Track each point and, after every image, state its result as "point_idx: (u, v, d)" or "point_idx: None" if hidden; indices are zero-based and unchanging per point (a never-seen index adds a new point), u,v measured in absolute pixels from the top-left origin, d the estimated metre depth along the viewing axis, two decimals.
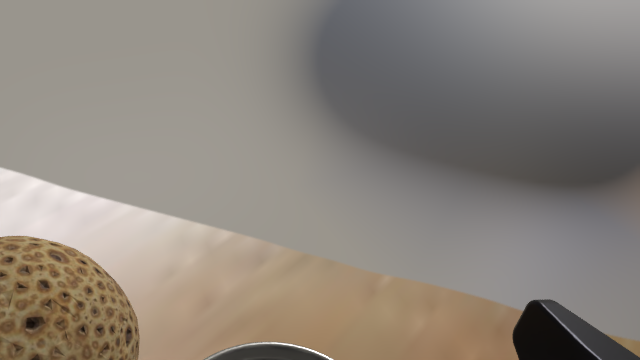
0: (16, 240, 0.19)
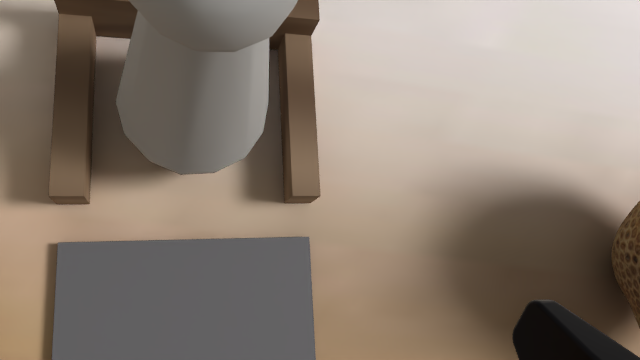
0: None
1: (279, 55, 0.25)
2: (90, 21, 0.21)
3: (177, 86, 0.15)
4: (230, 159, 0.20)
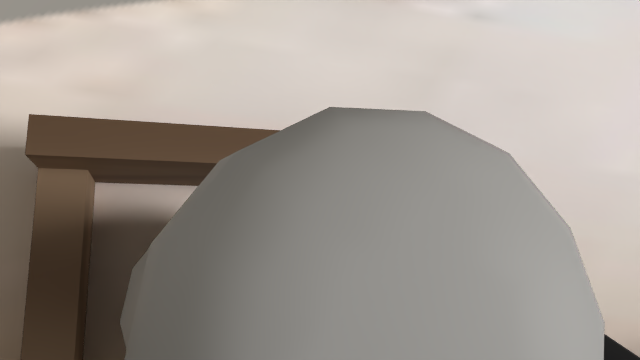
0: None
1: None
2: (85, 177, 0.14)
3: None
4: None
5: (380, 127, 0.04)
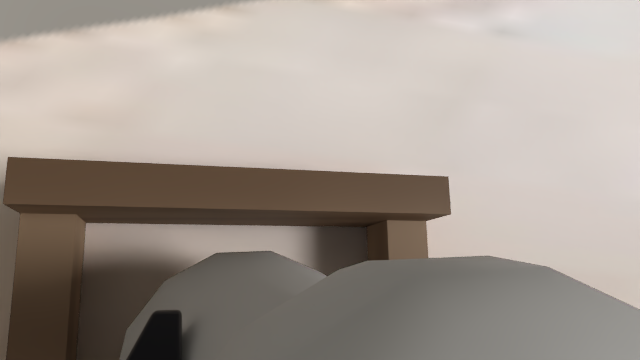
0: None
1: (370, 240, 0.16)
2: (74, 223, 0.13)
3: None
4: None
5: (498, 316, 0.03)
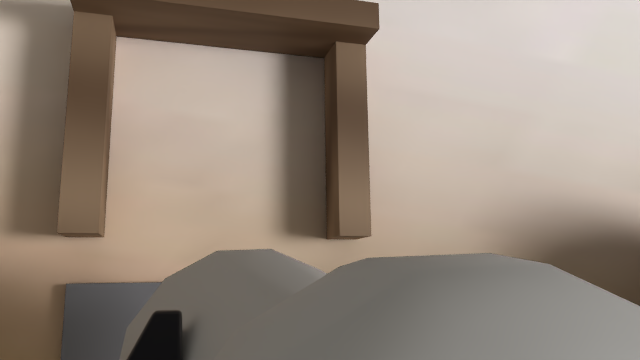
0: None
1: (326, 65, 0.21)
2: (110, 21, 0.18)
3: None
4: None
5: (499, 313, 0.03)
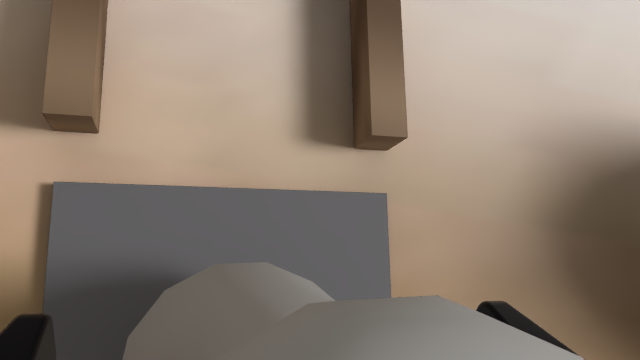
0: None
1: None
2: None
3: None
4: None
5: (427, 359, 0.03)
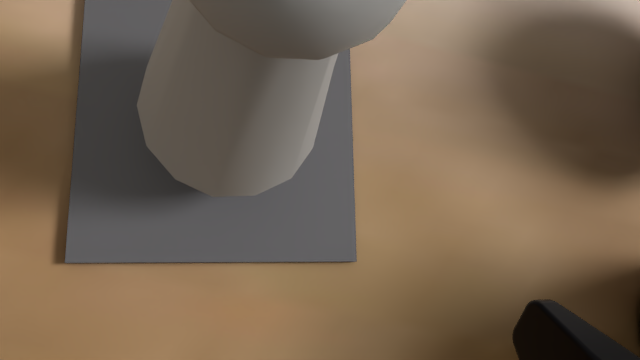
0: None
1: None
2: None
3: (224, 98, 0.11)
4: (274, 181, 0.17)
5: None
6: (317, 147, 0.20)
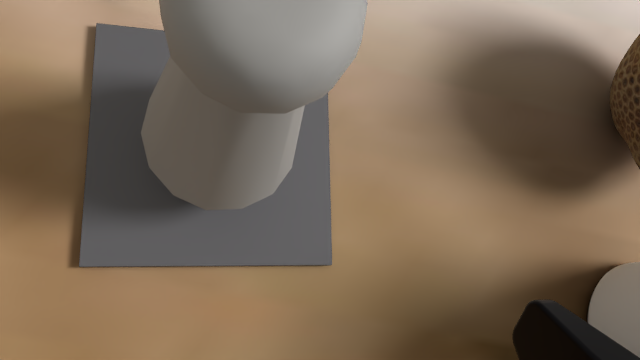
0: None
1: None
2: None
3: (212, 135, 0.14)
4: (257, 197, 0.19)
5: None
6: (298, 165, 0.23)
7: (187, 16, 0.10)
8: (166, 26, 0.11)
